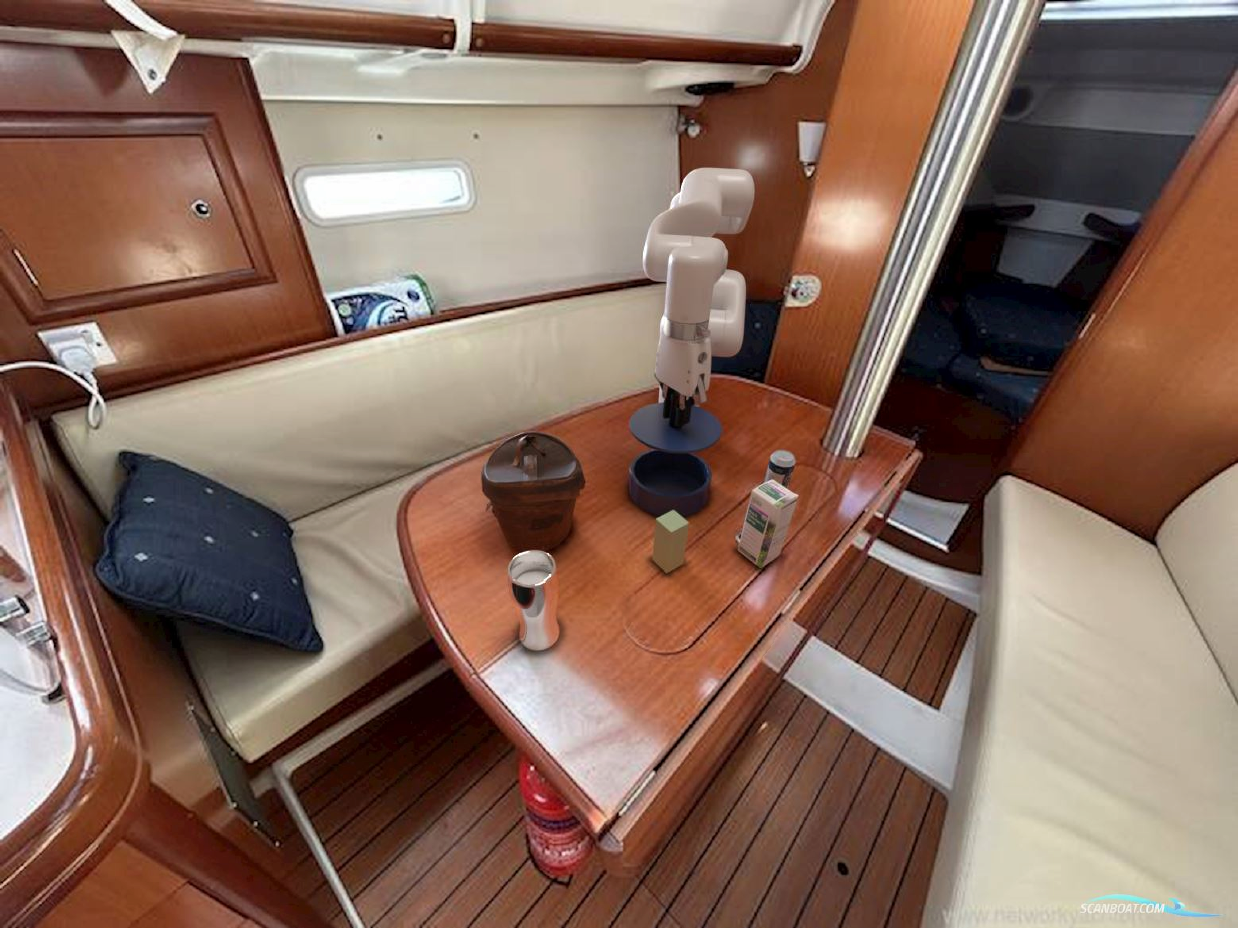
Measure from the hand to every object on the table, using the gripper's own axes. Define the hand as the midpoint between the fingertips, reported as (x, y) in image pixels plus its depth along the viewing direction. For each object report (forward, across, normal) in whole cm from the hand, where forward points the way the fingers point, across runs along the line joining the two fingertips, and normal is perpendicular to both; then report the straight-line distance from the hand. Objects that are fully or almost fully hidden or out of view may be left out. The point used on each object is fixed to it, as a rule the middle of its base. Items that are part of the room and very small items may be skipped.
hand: (676, 419), depth 95 cm
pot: (+18, 0, 0) cm, 18 cm away
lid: (+2, 0, 0) cm, 2 cm away
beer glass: (+18, -15, +39) cm, 45 cm away
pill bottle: (+18, -15, -15) cm, 28 cm away
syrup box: (+18, -23, -2) cm, 29 cm away
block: (+18, -15, +13) cm, 27 cm away
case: (+18, +6, +28) cm, 34 cm away
